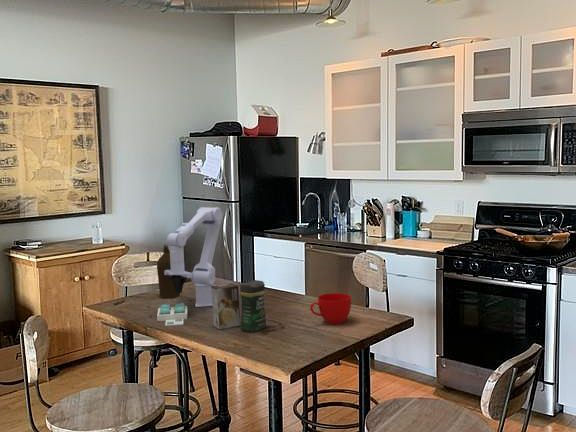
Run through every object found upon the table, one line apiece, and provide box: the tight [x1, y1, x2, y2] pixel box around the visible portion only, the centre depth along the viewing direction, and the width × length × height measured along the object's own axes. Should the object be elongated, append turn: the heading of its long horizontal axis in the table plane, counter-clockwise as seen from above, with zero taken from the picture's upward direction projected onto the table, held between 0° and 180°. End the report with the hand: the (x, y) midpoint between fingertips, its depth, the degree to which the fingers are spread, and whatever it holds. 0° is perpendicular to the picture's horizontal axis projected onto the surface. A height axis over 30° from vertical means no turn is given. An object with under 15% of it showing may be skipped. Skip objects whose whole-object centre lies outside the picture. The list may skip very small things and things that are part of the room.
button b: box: [174, 306, 184, 314], centre depth 245 cm, size 4×4×2 cm
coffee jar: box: [239, 279, 267, 333], centre depth 226 cm, size 10×8×19 cm
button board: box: [156, 305, 188, 322], centre depth 248 cm, size 12×12×2 cm
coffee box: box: [211, 282, 241, 330], centre depth 231 cm, size 9×6×16 cm
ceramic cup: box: [309, 292, 352, 325], centre depth 231 cm, size 13×17×10 cm
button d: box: [160, 307, 170, 315], centre depth 245 cm, size 4×4×2 cm
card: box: [164, 319, 184, 327], centre depth 239 cm, size 7×7×1 cm
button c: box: [160, 303, 171, 310], centre depth 250 cm, size 4×4×2 cm
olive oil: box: [156, 243, 181, 300], centre depth 283 cm, size 11×11×25 cm
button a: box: [174, 302, 185, 307], centre depth 251 cm, size 4×4×2 cm
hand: (179, 293), depth 251 cm, fingers closed
